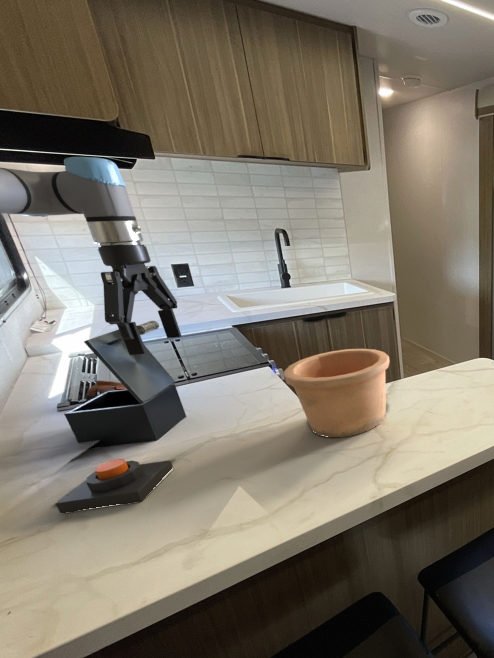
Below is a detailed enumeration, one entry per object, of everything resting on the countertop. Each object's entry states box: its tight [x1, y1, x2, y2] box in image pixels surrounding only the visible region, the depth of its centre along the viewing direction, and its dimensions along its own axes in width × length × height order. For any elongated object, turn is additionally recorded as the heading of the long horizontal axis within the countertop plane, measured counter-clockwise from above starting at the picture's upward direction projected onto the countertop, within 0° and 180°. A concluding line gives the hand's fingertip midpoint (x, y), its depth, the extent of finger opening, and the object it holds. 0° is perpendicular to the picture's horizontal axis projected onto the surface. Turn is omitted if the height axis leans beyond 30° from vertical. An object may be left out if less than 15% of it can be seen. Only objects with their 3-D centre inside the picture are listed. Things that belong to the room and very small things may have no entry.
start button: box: [94, 458, 129, 480], centre depth 70 cm, size 4×4×2 cm
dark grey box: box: [64, 383, 187, 450], centre depth 92 cm, size 15×13×9 cm
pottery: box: [283, 348, 390, 438], centre depth 91 cm, size 22×22×14 cm
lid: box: [83, 320, 176, 404], centre depth 89 cm, size 15×13×9 cm
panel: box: [54, 460, 174, 514], centre depth 71 cm, size 12×10×4 cm
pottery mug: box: [85, 380, 126, 403], centre depth 109 cm, size 12×10×8 cm
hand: (157, 345), depth 89 cm, fingers open, 13 cm apart
